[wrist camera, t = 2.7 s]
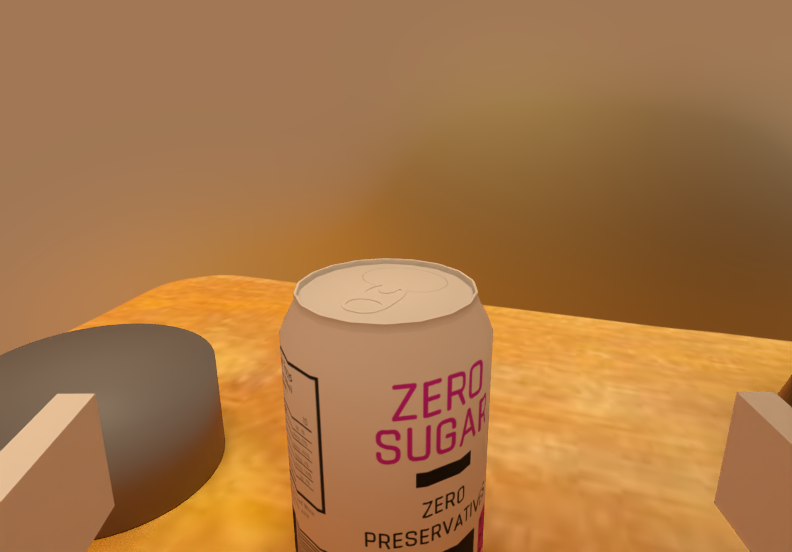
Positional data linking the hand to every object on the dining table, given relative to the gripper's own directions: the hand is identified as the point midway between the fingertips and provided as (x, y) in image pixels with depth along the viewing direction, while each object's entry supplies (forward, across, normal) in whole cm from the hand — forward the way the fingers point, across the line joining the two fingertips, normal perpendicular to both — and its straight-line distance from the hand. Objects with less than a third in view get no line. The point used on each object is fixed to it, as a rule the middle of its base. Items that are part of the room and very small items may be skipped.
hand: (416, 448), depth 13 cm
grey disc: (+22, -18, -16) cm, 32 cm away
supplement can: (+12, 0, -16) cm, 20 cm away
